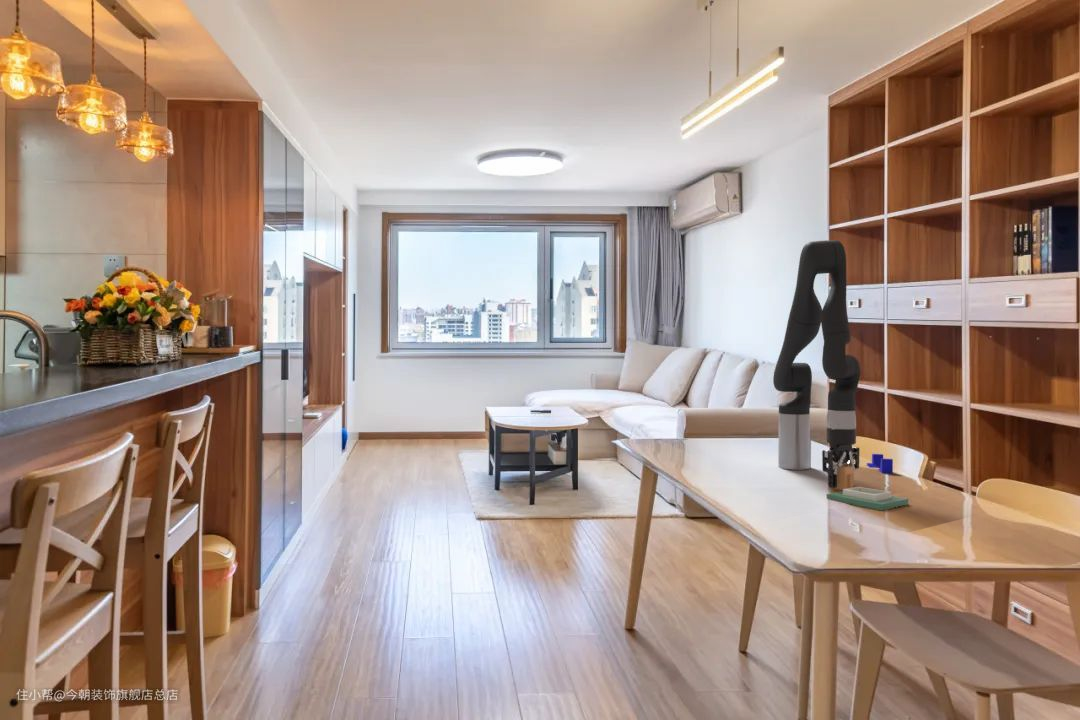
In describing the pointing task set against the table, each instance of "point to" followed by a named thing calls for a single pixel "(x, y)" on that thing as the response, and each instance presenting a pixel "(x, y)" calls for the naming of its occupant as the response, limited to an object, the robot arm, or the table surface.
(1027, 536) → the table surface
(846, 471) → the tan rectangular block
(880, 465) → the cable clip
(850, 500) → the board
